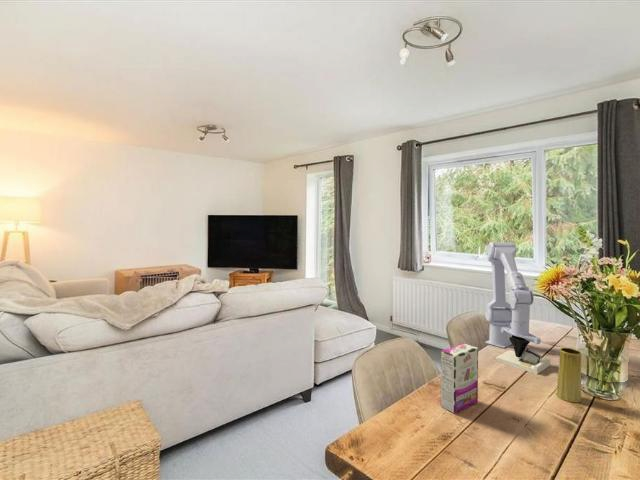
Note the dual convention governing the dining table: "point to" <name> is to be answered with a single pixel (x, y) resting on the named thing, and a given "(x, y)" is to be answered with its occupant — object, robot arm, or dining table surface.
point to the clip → (530, 357)
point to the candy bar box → (459, 377)
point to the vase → (569, 375)
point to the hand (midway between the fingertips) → (519, 356)
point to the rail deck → (514, 361)
